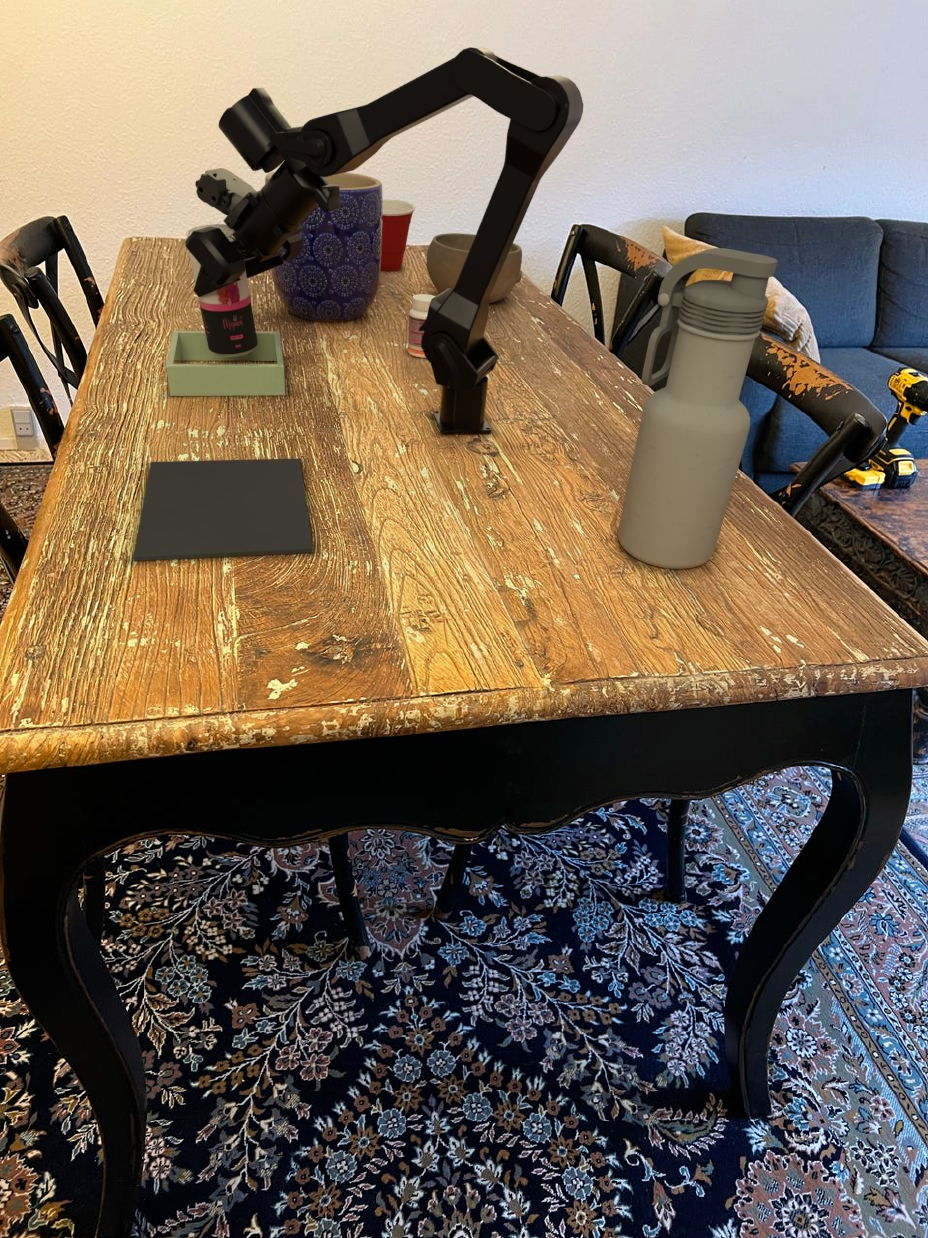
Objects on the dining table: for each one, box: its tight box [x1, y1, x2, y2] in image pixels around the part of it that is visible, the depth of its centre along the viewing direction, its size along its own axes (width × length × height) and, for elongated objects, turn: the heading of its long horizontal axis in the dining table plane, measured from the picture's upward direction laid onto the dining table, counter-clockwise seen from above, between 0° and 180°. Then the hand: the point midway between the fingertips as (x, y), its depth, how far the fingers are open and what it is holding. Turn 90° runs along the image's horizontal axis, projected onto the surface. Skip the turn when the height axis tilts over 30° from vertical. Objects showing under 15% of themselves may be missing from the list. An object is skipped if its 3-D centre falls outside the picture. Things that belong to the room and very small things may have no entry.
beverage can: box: [185, 223, 258, 357], centre depth 109 cm, size 6×7×15 cm
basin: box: [165, 330, 286, 397], centre depth 114 cm, size 15×15×4 cm
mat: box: [132, 458, 314, 562], centre depth 85 cm, size 20×16×1 cm
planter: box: [264, 171, 384, 323], centre depth 137 cm, size 18×18×21 cm
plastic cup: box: [380, 198, 416, 272], centre depth 169 cm, size 11×11×12 cm
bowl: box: [425, 232, 523, 305], centre depth 155 cm, size 17×18×10 cm
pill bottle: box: [407, 293, 436, 359], centre depth 127 cm, size 5×5×8 cm
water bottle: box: [617, 247, 779, 570], centre depth 77 cm, size 10×10×28 cm
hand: (212, 287), depth 109 cm, fingers closed on beverage can, 6 cm apart
